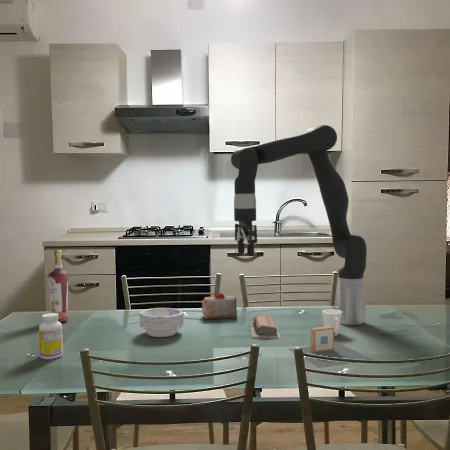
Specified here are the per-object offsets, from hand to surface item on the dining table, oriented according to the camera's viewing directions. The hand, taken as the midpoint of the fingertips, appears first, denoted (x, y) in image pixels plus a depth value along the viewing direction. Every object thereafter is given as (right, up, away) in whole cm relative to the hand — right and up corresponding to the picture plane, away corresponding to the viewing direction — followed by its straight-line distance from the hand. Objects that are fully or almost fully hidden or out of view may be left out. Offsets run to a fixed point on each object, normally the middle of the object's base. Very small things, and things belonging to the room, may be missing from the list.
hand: (245, 254), depth 169 cm
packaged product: (+7, -29, +6) cm, 30 cm away
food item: (-9, -27, +28) cm, 40 cm away
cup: (+30, -28, 0) cm, 41 cm away
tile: (+23, -28, -17) cm, 40 cm away
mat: (+24, -29, -21) cm, 43 cm away
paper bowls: (-29, -28, +5) cm, 41 cm away
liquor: (-71, -28, +23) cm, 80 cm away
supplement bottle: (-60, -30, -19) cm, 70 cm away
